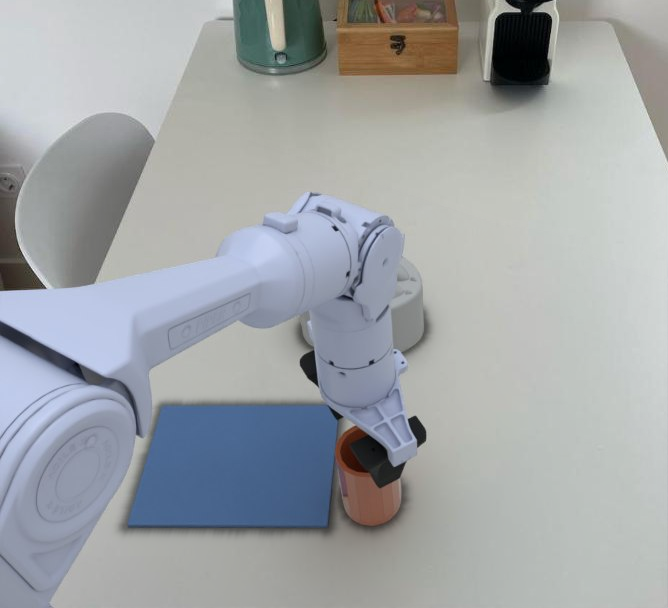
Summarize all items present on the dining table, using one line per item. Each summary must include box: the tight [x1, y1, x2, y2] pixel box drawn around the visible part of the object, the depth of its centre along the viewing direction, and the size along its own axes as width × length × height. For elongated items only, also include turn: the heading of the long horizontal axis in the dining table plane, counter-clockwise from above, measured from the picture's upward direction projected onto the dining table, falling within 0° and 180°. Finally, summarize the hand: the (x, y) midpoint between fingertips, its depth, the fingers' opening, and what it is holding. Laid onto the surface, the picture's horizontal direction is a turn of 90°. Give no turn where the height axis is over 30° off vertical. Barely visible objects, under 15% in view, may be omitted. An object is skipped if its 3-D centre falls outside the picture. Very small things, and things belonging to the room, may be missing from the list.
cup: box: [335, 425, 402, 527], centre depth 71 cm, size 5×5×8 cm
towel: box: [126, 404, 339, 529], centre depth 77 cm, size 18×13×1 cm
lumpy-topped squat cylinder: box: [299, 255, 425, 353], centre depth 87 cm, size 10×13×9 cm
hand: (366, 445), depth 68 cm, fingers open, 7 cm apart
